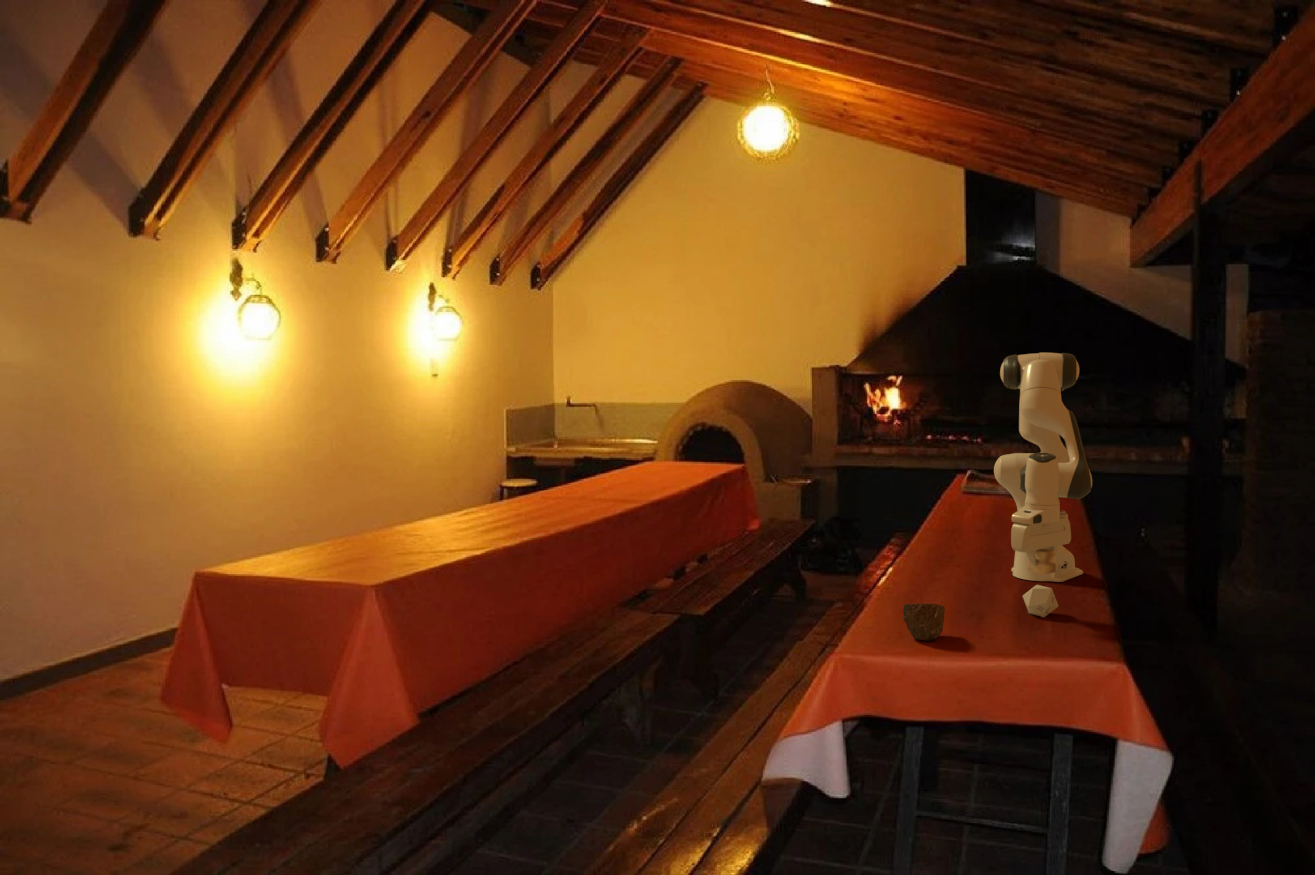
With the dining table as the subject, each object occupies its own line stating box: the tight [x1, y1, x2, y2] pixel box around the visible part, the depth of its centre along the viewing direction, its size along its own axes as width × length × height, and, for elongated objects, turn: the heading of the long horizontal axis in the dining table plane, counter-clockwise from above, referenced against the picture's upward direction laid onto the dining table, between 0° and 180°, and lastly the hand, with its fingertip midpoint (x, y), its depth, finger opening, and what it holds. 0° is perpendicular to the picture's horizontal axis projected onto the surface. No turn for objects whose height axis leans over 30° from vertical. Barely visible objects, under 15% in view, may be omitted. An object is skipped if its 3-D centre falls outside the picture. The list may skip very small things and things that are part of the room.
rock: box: [902, 603, 946, 642], centre depth 255 cm, size 12×10×10 cm
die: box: [1022, 584, 1059, 618], centre depth 273 cm, size 8×9×10 cm
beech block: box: [1028, 548, 1056, 575], centre depth 272 cm, size 5×5×6 cm
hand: (1041, 563), depth 272 cm, fingers closed on beech block, 5 cm apart
